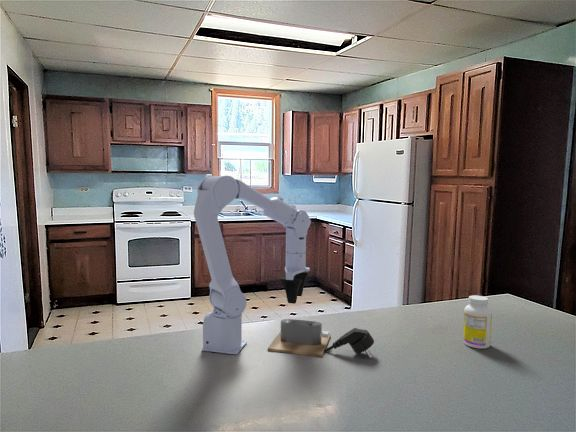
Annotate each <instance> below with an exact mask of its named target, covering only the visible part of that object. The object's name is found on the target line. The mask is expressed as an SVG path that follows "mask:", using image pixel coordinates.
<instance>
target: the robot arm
mask: <svg viewBox="0 0 576 432" xmlns="http://www.w3.org/2000/svg"><path fill="white" fill-rule="evenodd" d="M196 191H197V195H196V202H195V205H194V209H193V217H194V219H195V220H194V221H195V224H196V228H197V230H198V234H199V239H200V241H201V245H202V250H203V253H204V256H205V259H206V264H207V265H206V266H207V267H208V268H207V269H208V272H209V275H210V278H211V281H210V282H209V285H208V287H209V296H208V299H209V303H210V305H211V306H213V311H209V312H208V311H207V313H205V316H204V318H203V322H202V347H201V350H202V351H203V352H212V353H213V352H214V353H221V354H228V355H238V353H239V352H240V351H241V350H242V349H243V348H244V347H245V346H246V345H247V343H248V341H247V340H242V335H243V333H242V329H243V327H242V325H243V324H242V321H243V320H242V318H243V317H242V316H243V313H244V312H245V309H246V307H247V298H246V295H245V294H244V293H243V292H242V290H241V288H240V285H239V283H238V282H237V280H236V279H235V278H234V276H233V273H232V272H233V271H232V269H231V265H230V261H229V260H230V259H229V256H228V253H227V250H226V245H225V241H224V237H223V234H222V231H221V226H220V223H219V218H218V217H219V215H220V214H221V213H222V211H223V209H224V208H226V206H228V205H229V204H230V203H232V202H233V201H234V200H236V199H239V200H240V199H241V200H243V201H245V202H247V203H250V204H251V205H254V206H255V207H258V208H259V209H262V210H263V214H264V215H265V217H268V218H269V219H271V220H273V221H275V222H276V223H279V224H281V225H282V227H283V228H284V229H285V265H284V272H285V276H283V277H281V278H280V282H281V284H282V286H283V288H284V291H285V295H286V300H287V304H293V305H294V304H296V303H297V300H298V297H302V296H303V294H304V293H303V291H304V286H305V283H306V279H307V277H308V275H309V274H310V271H311V269H310V267H307V266H306V264H307V263H306V262H307V261H306V260H307V259H306V258H307V235H308V230H309V228H310V226H311V223H312V220H311V219H310V217H309V214H308V213H307V212H306V211H305V210H299V209H297V206H296V205H294V204H291V205H290V204H289V203H287V202H286V201H284V198H283V197H281V196H277V197H276V196H274V197H270V198H269V197H267V196H266V195H264V194H263V193H261V192H259V191H258V190H256V189H254V187H251V186H250V185H248V184H246V183H245V182H243V181H242V180H240V179H238V178H234V177H233V176H230V175H228V174H227V175H219V176H218V175H209V176H206V177H204V178H203V180H201V182H200V184H199V185H198V186H197V188H196Z"/></svg>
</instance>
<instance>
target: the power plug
mask: <svg viewBox="0 0 576 432" xmlns="http://www.w3.org/2000/svg"><path fill="white" fill-rule="evenodd" d="M374 343H375V340H374V338H373V336H372V335H371V333H370V332H369V331H368V330H367V329H360V328H357V327H354V328H352V329H350V330H348V331H347V332H346V333H344V334H343V335H342V336H340V337H339V338H337V340H335V341H334V342H332V345H331V346H329V347H328V348H327V347H326V349H325V350H324V353H328V352H330V351H331V350H333V349H334V350H336V349H337V348H340V347H343V346H345V345H347V344H348V345H349V346H350V347H351V349H352V351H353V352H354V353H355V354H361V353H363V352H365V353H366V355H367V357H368V358H369V359H372V357H373V356H372V351H371V349H370V348H371V347H372V346H373V345H374Z"/></svg>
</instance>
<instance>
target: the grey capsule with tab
mask: <svg viewBox="0 0 576 432" xmlns="http://www.w3.org/2000/svg"><path fill="white" fill-rule="evenodd" d="M322 326H323V325H322V322H320V321H316V320H315V321H314V320H305V319H304V320H302V319H293V318H285V319H281V320H280V331H281V341H283V342H287V343H296V344H306V345H320V344H321V337H325V338H328V336H329V334H330V331H329V330H327V331H326V330H322Z"/></svg>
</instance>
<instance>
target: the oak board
mask: <svg viewBox="0 0 576 432" xmlns="http://www.w3.org/2000/svg"><path fill="white" fill-rule="evenodd" d="M330 338H331V334H330V333H329V336H328V338H325V337H321V344H320V345H306V344H296V343H287V342H283V341H281V330H280V331H279V332H278V333H277V335H276V336H275V338H273V340H272V341H271V343H270V344H269V346H268V347H267V351H270V352H278V353H284V354H285V353H286V354H293V355H294V354H295V355H303V356H304V355H305V356H312V357H321V358H323V357H324V353H325V352H324V350H326V349H327V346H328V343H329V342H330Z"/></svg>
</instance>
